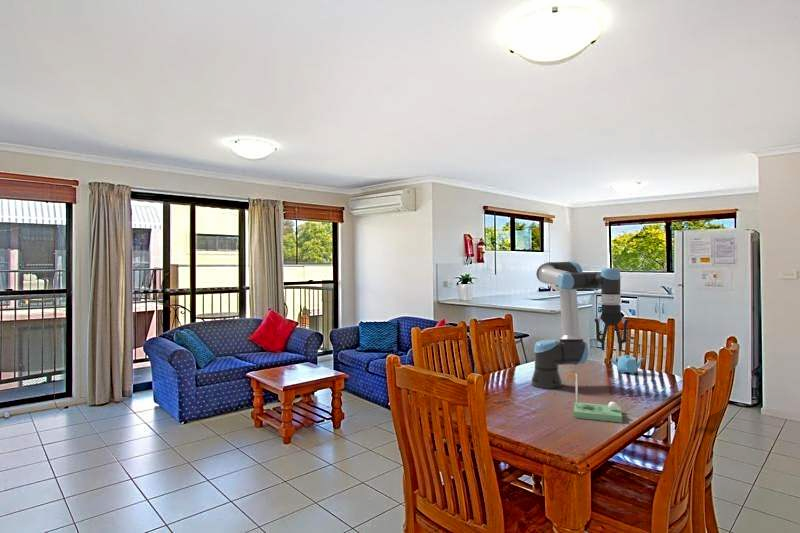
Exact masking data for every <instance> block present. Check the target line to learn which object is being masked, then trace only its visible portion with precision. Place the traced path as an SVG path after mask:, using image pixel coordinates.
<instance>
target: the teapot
mask: <svg viewBox="0 0 800 533" xmlns="http://www.w3.org/2000/svg"><path fill="white" fill-rule="evenodd" d="M644 359H645V358H644V357H641V358H639V360H638V363H637V359H636V357H635V356H630V355H628V354H625V355H624V356H623V355H622V356H621V355H619V359H617V361H616V360H615V359H614V358H611V359H610V362H611V363H613V365H616V367H617V371H618V372H620V374H623V375H625V373H629V375H634V374H636V373H637V371H638V369H639V368H640V367H641V365H642V361H643V360H644Z"/></svg>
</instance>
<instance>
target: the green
mask: <svg viewBox="0 0 800 533" xmlns="http://www.w3.org/2000/svg"><path fill="white" fill-rule="evenodd" d="M567 379H573V380H575V402H574V408H573V418H574V419H586V420H594V421H604V422H612V423H613V422H614V423H623V414H622V410H621V406H620V405H618V408H617V409H616V410H615V411H612V410H610V409H609V407H608V404H599V403H589V402H579V398H578V397H579V396H578V395H579V394H578V393H579V391H578V390H579V389H578V386H579V385H578V384H579V383H578V374H577V373H569V372H568V373H567Z"/></svg>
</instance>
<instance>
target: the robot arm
mask: <svg viewBox="0 0 800 533" xmlns="http://www.w3.org/2000/svg"><path fill="white" fill-rule="evenodd" d="M536 278H537V280H538V281H539V282H541V283H543V284H549V285H555V287H556V289H557V290H558V291H559V301H560V302H559V303H560V317H561V318H560V320H561V334H562V336H561V337H559V342H558V339H553V338H551V339H542V340H537V341H536V342H535V344H534V350H533V352H534V371H533V374H532V377H531V386H533V387H535V388H540V389H549V390H550V389H560V388H562V387H563V386H562V385H563V383H562V379H561V376H560V373H559V366H566V365H569V366H571V365H572V366H573V365H574V366H576V365H583V364H585V363H586V362H587V360H588V357H589V347H588V346H589V345H588V344H587V342H586V341H584V339H583V337H582V335H580V321H579V320H580V319H579V308H578V306H579V305H578V292H577V290H601V293H600V298H601V315H600V316H599V317H595V318H594V322H595V328H596V330H595V331H596V341H597V342H599V343H601V351H604V357H603V358H604V359H607V342H605V341H606V336H607V332H608V328H609V327H610V326H612V327H614V330H615V334H616V338H617V342H616V359H617V360H618V359H619V356H620V352H622V350H623V346H622V345H623V344H625V343H626V342H627V336H628V335H627V333H628V332H627V330H628V328H627V327H628V326H627V325H628V323H629V319H627V318H624V317H623V316H622V312H621V311H622V309H621V308H622V306H621V300H622V299H621V278H622V277H621V271H620V269H619V268H613V267H612V268H611V267H610V268H607V267H606V268H605V267H604V268H602V269H601V270H600V271H595V272H584V271H583V268H582V267H581V265H580V264H579V263H578V262H575V261H553V262H552V261H549V262H545V263H543V264H540V266H539V267H537V269H536ZM601 321H602V322H603V323H604V327H603V331H602V337H601V336H600V334H601V333H600V332H601V330H600V323H601ZM620 322H621V323H622V324H623V326H622V338H621V333H620V330H619V326H618V324H619V323H620Z"/></svg>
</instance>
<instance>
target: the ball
mask: <svg viewBox="0 0 800 533" xmlns="http://www.w3.org/2000/svg"><path fill="white" fill-rule="evenodd" d="M607 405H608V407H609V409H610V410H612V411H615V410H616V409H617V408H618V406H619V405H618V403H617V402H616V401H610V402H609V403H608V404H607Z"/></svg>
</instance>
